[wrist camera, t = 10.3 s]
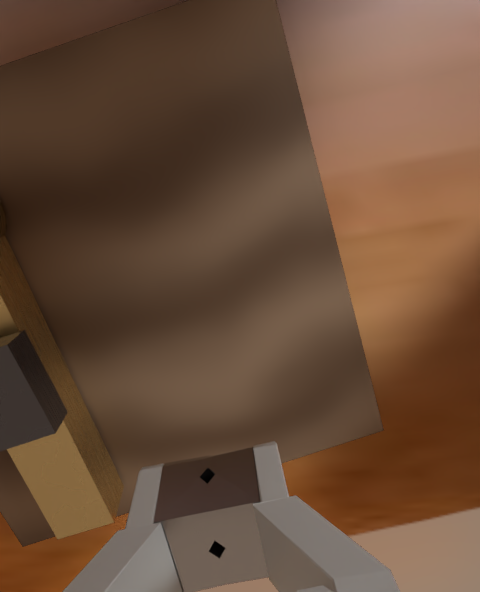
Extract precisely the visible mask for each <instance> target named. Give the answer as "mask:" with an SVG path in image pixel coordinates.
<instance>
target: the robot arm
mask: <svg viewBox="0 0 480 592" xmlns="http://www.w3.org/2000/svg"><path fill="white" fill-rule="evenodd" d="M267 577H269V579H270V581H271V582H272V583H273V585H274V586H275V587H276V589H277V590H278V591H279V592H400V590H399V588H398V586H397V584H396V581H395V579H394V577H393V575H392V572H391V570H390V569H389V568H387V567H386V566H385V565H383V564H382V563H381V562H380V561H378V560H377V559H376V558H375V557H373V556H372V555H371V554H370V553H368V552H367V551H366V550H364V549H363V548H362V547H361V546H359V545H358V544H357V543H356V542H354V541H353V540H352V539H351V538H349V537H348V536H347V535H346V534H344V533H343V532H342V531H340V530H339V529H338V528H337V527H335V526H334V525H333V524H332V523H330V522H329V521H328V520H327V519H325V518H324V517H323V516H321V515H320V514H319V513H318V512H316V511H315V510H314V509H313V508H311V507H310V506H309V505H308V504H306V503H305V502H304V501H302V500H301V499H300V498H299V497H297V496H291V497H289V494H288V490H287V486H286V481H285V477H284V473H283V468H282V464H281V460H280V455H279V451H278V447H277V443H276V442H275V441H273V442H268V443H264V444H259V445H255V446H253V447H249V448H244V449H239V450H234V451H230V452H225V453H220V454H215V455H210V456H209V455H208V456H202V457H197V458H191V459H185V460H179V461H174V462H168V463H165V464H158V465H153V466H147V467H142V469H141V470H140V471H139V474H138V478H137V482H136V486H135V490H134V494H133V498H132V502H131V506H130V510H129V515H128V519H127V523H126V527H125V529H124V530H119V531H117V532H116V533H115V534H114V536H113V537H112V538H111V539H110V540H109V541H108V542H107V543H106V544H105V545H104V547H103V548H102V549H101V550H100V551H99V552H98V553H97V554H96V555H95V556H94V558H93V559H92V560H91V561H90V562H89V563H88V564H87V565H86V566H85V567H84V569H83V570H82V571H81V572H80V573H79V574H78V575H77V576H76V577H75V578H74V580H73V581H72V582H71V583H70V584H69V585H68V586H67V587H66V588H65V589H64V591H63V592H195V591H200V590H204V589H209V588H213V587H217V586H222V585H225V584H232V583H238V582H244V581H249V580H256V579H261V578H267Z"/></svg>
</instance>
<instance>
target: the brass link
mask: <svg viewBox="0 0 480 592" xmlns="http://www.w3.org/2000/svg"><path fill="white" fill-rule="evenodd" d="M6 230H7V218H6V213H5V209H4V207H3V204H2V202H1V201H0V338H1V337H4V336H7V335H10V334H13V333H16V332H19V331H22V330H25V331H26V333H27V335H28V337H29V339H30V341H31V343H32V345H33V346H34V348H35V350H36V352H37V354H38V356H39V358H40V360H41V362H42V364H43V365H44V367H45V369H46V371H47V373H48V375H49V377H50V379H51V381H52V383H53V385H54V386H55V388H56V390H57V392H58V394H59V396H60V398H61V400H62V402H63V404H64V405H65V407H66V409H67V411H68V413H67V415H66V416H65V418H64V420H63V421H62V423H61V425H60V427H59V428H58V430H57V432H56V433H55V434H52V435H49V436H46V437H43V438H40V439H37V440H34V441H31V442H28V443H25V444H22V445H19V446H15V447H12V448H9V449H7V451H8V453H9V454H10V456H11V458H12V460H13V462H14V463H15V465H16V467H17V469H18V470H19V472H20V474H21V476H22V477H23V479H24V481H25V483H26V485H27V486H28V488H29V490H30V492H31V493H32V495H33V497H34V499H35V500H36V502H37V504H38V506H39V508H40V509H41V511H42V513H43V515H44V516H45V518H46V520H47V522H48V523H49V525H50V527H51V529H52V530H53V532H54V534H55V536H56V538H57V539H61V538H64V537H68V536H71V535H74V534H78V533H81V532H84V531H88V530H91V529H94V528H98V527H101V526H104V525H108V524H111V523H114V522H115V518H116V514H117V511H118V507H119V503H120V499H121V496H122V492H123V488H124V485H123V483H122V481H121V479H120V477H119V474H118V472H117V470H116V468H115V466H114V464H113V462H112V460H111V458H110V455H109V453H108V451H107V449H106V447H105V445H104V443H103V441H102V439H101V437H100V434H99V432H98V430H97V428H96V426H95V424H94V422H93V420H92V418H91V415H90V413H89V411H88V409H87V407H86V405H85V403H84V401H83V399H82V397H81V394H80V392H79V390H78V388H77V386H76V384H75V382H74V380H73V378H72V375H71V373H70V371H69V369H68V367H67V365H66V363H65V361H64V359H63V356H62V354H61V352H60V350H59V348H58V346H57V344H56V342H55V340H54V338H53V335H52V333H51V331H50V329H49V327H48V325H47V323H46V321H45V319H44V316H43V314H42V312H41V310H40V308H39V306H38V304H37V302H36V300H35V298H34V295H33V293H32V291H31V289H30V287H29V285H28V283H27V281H26V279H25V276H24V274H23V272H22V270H21V268H20V266H19V264H18V262H17V260H16V257H15V255H14V253H13V251H12V249H11V247H10V245H9V243H8V241H7V239H6V236H5V235H6Z"/></svg>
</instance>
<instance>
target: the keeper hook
mask: <svg viewBox="0 0 480 592" xmlns="http://www.w3.org/2000/svg"><path fill="white" fill-rule="evenodd" d="M67 413H68V411H67V409H66V407H65V405H64V404H63V402H62V400H61V398H60V396H59V394H58V392H57V390H56V388H55V386H54V385H53V383H52V381H51V379H50V377H49V375H48V373H47V371H46V369H45V367H44V365H43V364H42V362H41V360H40V358H39V356H38V354H37V352H36V350H35V348H34V346H33V345H32V343H31V341H30V339H29V337H28V335H27V333H26V331H25V330H22V331H19V332H16V333H13V334H10V335H7V336H4V337H1V338H0V451H3V450H6V449H9V448H12V447H15V446H19V445H22V444H25V443H28V442H31V441H34V440H37V439H40V438H43V437H46V436H49V435H52V434H55V433H56V432H57V430H58V428H59V427H60V425H61V423H62V421H63V420H64V418H65V416H66V415H67Z"/></svg>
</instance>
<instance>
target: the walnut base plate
mask: <svg viewBox="0 0 480 592" xmlns="http://www.w3.org/2000/svg"><path fill="white" fill-rule="evenodd" d="M0 201H1V202H2V204H3V207H4V209H5V213H6V218H7V230H6V235H5V236H6V239H7V241H8V243H9V245H10V247H11V249H12V251H13V253H14V255H15V257H16V260H17V262H18V264H19V266H20V268H21V270H22V272H23V274H24V276H25V279H26V281H27V283H28V285H29V287H30V289H31V291H32V293H33V295H34V298H35V300H36V302H37V304H38V306H39V308H40V310H41V312H42V314H43V316H44V319H45V321H46V323H47V325H48V327H49V329H50V331H51V333H52V335H53V338H54V340H55V342H56V344H57V346H58V348H59V350H60V352H61V354H62V356H63V359H64V361H65V363H66V365H67V367H68V369H69V371H70V373H71V375H72V378H73V380H74V382H75V384H76V386H77V388H78V390H79V392H80V394H81V397H82V399H83V401H84V403H85V405H86V407H87V409H88V411H89V413H90V415H91V418H92V420H93V422H94V424H95V426H96V428H97V430H98V432H99V434H100V437H101V439H102V441H103V443H104V445H105V447H106V449H107V451H108V453H109V455H110V458H111V460H112V462H113V464H114V466H115V468H116V470H117V472H118V474H119V477H120V479H121V481H122V483H123V485H124V488H123V492H122V496H121V499H120V503H119V507H118V511H117V514H116V517H117V516H120V515H123V514H126V513H129V510H130V506H131V502H132V498H133V494H134V490H135V486H136V482H137V478H138V474H139V471H140V470H141V469H142V467H147V466H153V465H158V464H165V463H168V462H174V461H179V460H185V459H191V458H197V457H202V456H208V455H209V456H210V455H215V454H220V453H225V452H230V451H234V450H239V449H244V448H249V447H253V446H255V445H259V444H264V443H268V442H273V441H275V442H276V443H277V447H278V451H279V455H280V460H281V463H284V462H287V461H290V460H294V459H297V458H300V457H303V456H306V455H309V454H312V453H315V452H318V451H321V450H325V449H328V448H331V447H334V446H337V445H340V444H343V443H346V442H349V441H352V440H356V439H359V438H362V437H365V436H368V435H371V434H374V433H377V432H380V431H383V430H384V429H383V425H382V421H381V417H380V413H379V409H378V405H377V401H376V397H375V393H374V389H373V385H372V381H371V377H370V373H369V369H368V366H367V362H366V358H365V354H364V350H363V346H362V342H361V338H360V334H359V330H358V326H357V322H356V318H355V314H354V310H353V306H352V302H351V298H350V294H349V290H348V286H347V282H346V278H345V274H344V270H343V266H342V262H341V258H340V254H339V250H338V246H337V242H336V238H335V234H334V230H333V226H332V222H331V218H330V214H329V210H328V206H327V202H326V198H325V194H324V190H323V186H322V182H321V178H320V174H319V170H318V166H317V162H316V158H315V154H314V150H313V146H312V142H311V138H310V134H309V130H308V126H307V122H306V118H305V114H304V110H303V106H302V102H301V98H300V94H299V90H298V86H297V82H296V78H295V74H294V70H293V66H292V62H291V58H290V55H289V51H288V47H287V43H286V39H285V35H284V31H283V27H282V23H281V19H280V15H279V11H278V7H277V3H276V0H188V1H185V2H183V3H180V4H177V5H174V6H171V7H168V8H165V9H162V10H160V11H157V12H154V13H151V14H148V15H145V16H142V17H139V18H137V19H134V20H131V21H128V22H125V23H122V24H119V25H117V26H114V27H111V28H108V29H105V30H102V31H99V32H96V33H94V34H91V35H88V36H85V37H82V38H79V39H76V40H73V41H71V42H68V43H65V44H62V45H59V46H56V47H53V48H51V49H48V50H45V51H42V52H39V53H36V54H33V55H30V56H28V57H25V58H22V59H19V60H16V61H13V62H10V63H7V64H5V65H2V66H0ZM0 512H1V514H2V515H3V517H4V518H5V520H6V521H7V523H8V524H9V526H10V528H11V529H12V531H13V532H14V534H15V535H16V537H17V538H18V540H19V542H20V543H21V545H22V546H23V547H24V546H27V545H30V544H33V543H36V542H39V541H42V540H45V539H49V538H52V537H55V534H54V532H53V530H52V529H51V527H50V525H49V523H48V522H47V520H46V518H45V516H44V515H43V513H42V511H41V509H40V508H39V506H38V504H37V502H36V500H35V499H34V497H33V495H32V493H31V492H30V490H29V488H28V486H27V485H26V483H25V481H24V479H23V477H22V476H21V474H20V472H19V470H18V469H17V467H16V465H15V463H14V462H13V460H12V458H11V456H10V454H9V453H8V451H7V449H6V450H3V451H0Z"/></svg>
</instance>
